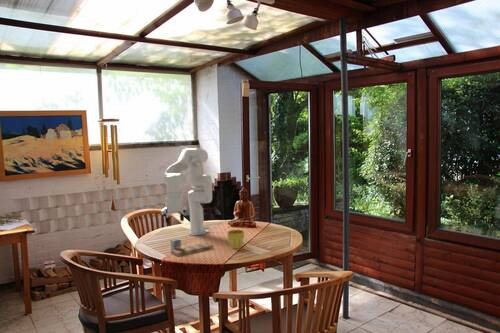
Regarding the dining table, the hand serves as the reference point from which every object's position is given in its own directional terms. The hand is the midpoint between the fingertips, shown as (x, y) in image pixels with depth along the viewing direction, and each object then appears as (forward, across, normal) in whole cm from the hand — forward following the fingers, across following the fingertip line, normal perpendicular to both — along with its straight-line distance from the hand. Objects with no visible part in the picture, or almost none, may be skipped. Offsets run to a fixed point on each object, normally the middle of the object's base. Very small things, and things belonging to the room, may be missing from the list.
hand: (174, 222), depth 252 cm
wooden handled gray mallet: (+17, +2, +7) cm, 19 cm away
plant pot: (+18, -30, +22) cm, 41 cm away
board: (+17, -6, +10) cm, 21 cm away
